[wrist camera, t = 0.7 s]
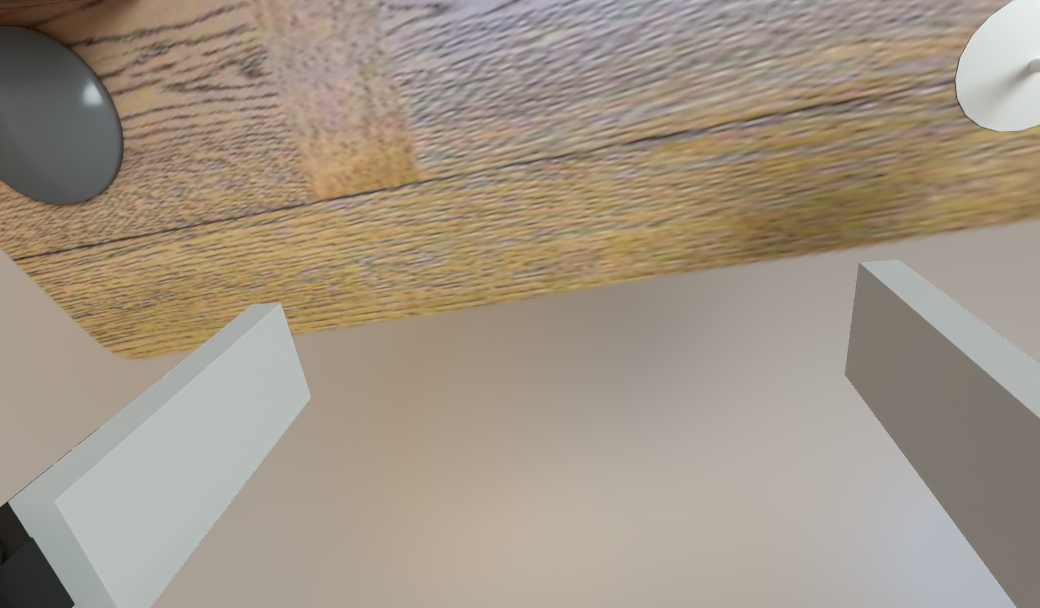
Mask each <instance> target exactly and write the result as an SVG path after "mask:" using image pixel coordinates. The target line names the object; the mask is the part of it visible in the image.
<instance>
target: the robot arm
mask: <svg viewBox="0 0 1040 608" xmlns="http://www.w3.org/2000/svg"><path fill="white" fill-rule="evenodd" d="M845 375H846V377H847V378H848V379H849V381H850V382H851V383H852V385H853V386H854V388H855V389H856V390H857V392H858V393H859V394H860V396H861V397H862V398H863V400H864V401H865V402H866V404H867V405H868V406H869V408H870V409H871V411H872V412H873V413H874V415H875V416H876V417H877V419H878V420H879V421H880V423H881V424H882V425H883V427H884V428H885V429H886V431H887V432H888V433H889V435H890V436H891V438H892V439H893V440H894V442H895V443H896V444H897V446H898V447H899V449H900V450H901V451H902V452H903V454H904V455H905V457H906V458H907V459H908V461H909V462H910V463H911V465H912V466H913V467H914V469H915V470H916V472H917V473H918V474H919V476H920V477H921V478H922V479H923V481H924V482H925V484H926V485H927V486H928V488H929V489H930V491H931V492H932V493H933V494H934V496H935V497H936V499H937V500H938V501H939V503H940V504H941V505H942V507H943V508H944V509H945V511H946V512H947V513H948V515H949V516H950V518H951V519H952V520H953V522H954V523H955V524H956V526H957V527H958V528H959V530H960V531H961V533H962V534H963V535H964V537H965V538H966V539H967V541H968V542H969V543H970V545H971V546H972V547H973V549H974V550H975V551H976V553H977V554H978V556H979V557H980V558H981V560H982V561H983V562H984V564H985V565H986V566H987V568H988V569H989V570H990V572H991V573H992V575H993V576H994V577H995V579H996V580H997V581H998V583H999V584H1000V585H1001V586H1002V588H1003V589H1004V591H1005V592H1006V593H1007V595H1008V596H1009V598H1010V599H1011V600H1012V602H1013V603H1014V604H1015V606H1016V607H1017V608H1040V364H1038V363H1037V362H1036V361H1034V360H1033V359H1032V358H1030V357H1029V356H1028V355H1026V354H1025V353H1024V352H1022V351H1021V350H1020V349H1018V348H1017V347H1016V346H1014V345H1013V344H1012V343H1010V342H1009V341H1008V340H1006V339H1005V338H1004V337H1002V336H1001V335H1000V334H998V333H997V332H995V331H994V330H993V329H991V328H990V327H989V326H987V325H986V324H985V323H983V322H982V321H980V320H979V319H978V318H976V317H975V316H974V315H973V314H971V313H970V312H969V311H967V310H966V309H965V308H963V307H962V306H961V305H959V304H958V303H957V302H955V301H954V300H953V299H951V298H950V297H948V296H947V295H946V294H944V293H943V292H942V291H940V290H939V289H938V288H936V287H935V286H934V285H932V284H931V283H930V282H928V281H927V280H926V279H924V278H923V277H921V276H920V275H919V274H917V273H916V272H915V271H914V270H912V269H911V268H910V267H908V266H907V265H905V264H904V263H903V262H901V261H900V260H885V261H870V262H859V268H858V275H857V283H856V292H855V299H854V307H853V315H852V323H851V331H850V339H849V346H848V354H847V362H846V370H845ZM310 398H311V396H310V393H309V390H308V386H307V384H306V380H305V378H304V374H303V371H302V368H301V365H300V362H299V359H298V355H297V352H296V349H295V346H294V343H293V340H292V337H291V334H290V330H289V327H288V324H287V321H286V318H285V315H284V312H283V309H282V306H281V303H268V304H254V305H251V306H249V307H248V308H247V309H246V310H244V311H243V312H242V313H241V314H240V315H238V316H237V317H236V318H235V319H233V320H232V321H231V322H230V323H228V324H227V325H226V326H225V327H223V328H222V329H221V330H220V331H219V332H217V333H216V334H215V335H214V336H212V337H211V338H210V339H209V340H207V341H206V342H205V343H204V344H202V345H201V346H200V347H199V348H197V349H196V350H195V351H194V352H193V353H191V354H190V355H189V356H188V357H186V358H185V359H184V360H183V361H181V362H180V363H179V364H178V365H176V366H175V367H174V368H173V369H171V370H170V371H169V372H168V373H167V374H165V375H164V376H163V377H162V378H160V379H159V380H158V381H157V382H156V383H154V384H153V385H152V386H151V387H150V388H148V389H147V390H146V391H144V392H143V393H142V394H141V395H139V396H138V397H137V398H136V399H134V400H133V401H132V402H131V403H130V404H128V405H127V406H126V407H124V408H123V409H122V410H121V411H120V412H118V413H117V414H116V415H115V416H113V417H112V418H111V419H110V420H108V421H107V422H106V423H105V424H103V425H102V426H101V427H99V428H98V429H97V430H95V431H94V432H93V433H92V434H90V435H89V436H88V437H87V438H86V439H84V440H83V441H82V442H81V443H79V444H78V445H77V446H76V447H75V448H74V449H73V450H71V451H69V452H68V453H67V454H66V455H64V456H63V457H62V458H61V459H59V460H58V461H57V462H56V463H55V464H54V465H52V466H51V467H50V468H48V469H47V470H46V471H45V472H43V473H42V474H41V475H40V476H38V477H37V478H36V479H35V480H34V481H32V482H31V483H30V484H29V485H27V486H26V487H25V488H24V489H22V490H21V491H20V492H19V493H17V494H16V495H15V496H14V497H13V498H11V499H10V500H9V501H8V502H6V503H5V504H4V505H2V506H1V507H0V608H72V607H73V606H74V607H75V608H151V606H152V605H153V604H154V602H155V601H156V600H157V599H158V597H159V596H160V595H161V593H162V592H163V591H164V589H165V588H166V587H167V585H168V584H169V583H170V582H171V580H172V579H173V578H174V576H175V575H176V574H177V572H178V571H179V570H180V568H181V567H182V566H183V564H184V563H185V562H186V561H187V559H188V558H189V557H190V555H191V554H192V553H193V551H194V550H195V549H196V547H197V546H198V544H200V542H201V541H202V540H203V538H204V537H205V536H206V534H207V533H208V532H209V530H210V529H211V528H212V526H213V525H214V524H215V523H216V521H217V520H218V519H219V517H220V516H221V515H222V513H223V512H224V511H225V509H226V508H227V507H228V506H229V504H230V503H231V502H232V500H233V499H234V498H235V496H236V495H237V494H238V492H239V491H240V489H241V488H242V487H243V486H244V485H245V483H246V482H247V481H248V479H249V478H250V477H251V475H252V474H253V473H254V471H255V470H256V469H257V468H258V466H259V465H260V463H261V462H262V461H263V460H264V458H265V457H266V456H267V454H268V453H269V452H270V450H271V449H272V448H273V447H274V445H275V444H276V443H277V441H278V440H279V439H280V437H281V436H282V435H283V433H284V432H285V431H286V429H287V428H288V427H289V425H290V424H291V423H292V422H293V420H294V419H295V418H296V416H297V415H298V413H299V412H300V411H301V410H302V408H303V407H304V406H305V405H306V403H307V402H308V401H309V399H310Z"/></svg>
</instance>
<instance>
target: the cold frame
mask: <svg viewBox="0 0 1040 608" xmlns="http://www.w3.org/2000/svg"><path fill="white" fill-rule="evenodd" d="M67 1H75V0H0V10H2V9H10V8H19V7H27V6H35V5H43V4H51V3H59V2H67Z"/></svg>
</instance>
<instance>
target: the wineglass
mask: <svg viewBox="0 0 1040 608" xmlns="http://www.w3.org/2000/svg"><path fill="white" fill-rule="evenodd" d="M955 81H956V90H957V99H958V101H959V103H960V105H961V107H962V109H963V110H964V112H965V114H966V116H968V117H969V118H970V119H972V120H973V121H974V122H975V123H977V124H978V125H979V126H981V127H984V128H988V129H992V130H995V131H999V132H1002V131H1021V130H1024V129H1027V128H1030V127H1033V126H1037V125H1040V0H1014V1H1012V2H1010V3H1009V4H1007V5H1006V6H1004V7H1003V8H1002V9H1000V10H999V11H997V12H996V13H994V14H993V15H991V16H990V17H989V18H988V19H987V20H986V21H985V22H984V23H983V25H982V26H981V27H980V28H979V29H978V30H977V31H976V32H975V33H974V34H973V36H972V37H971V39H970V41H969V43H968V44H967V46H966V48H965V50H964V52H963V54H962V55H961V57H960V61H959V66H958V70H957V74H956V79H955Z"/></svg>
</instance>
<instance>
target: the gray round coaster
mask: <svg viewBox="0 0 1040 608" xmlns="http://www.w3.org/2000/svg"><path fill="white" fill-rule="evenodd" d="M123 148H124V144H123V133H122V127H121V123H120V119H119V116H118V112H117V110H116V108H115V105H114V103H113V100H112V98H111V97H110V95H109V93H108V91H107V89H106V88H105V86H104V85H103V83H102V82H101V80H100V79H99V77H98V76H97V75H96V73H95V72H94V71H93V70H92V68H91V67H90V66H89V65H88V64H87V63H86V62H85V61H84V60H83V59H82V58H81V57H80V56H79V55H78V54H76V53H75V52H74V51H73V50H72V49H70V48H69V47H67V46H66V45H65V44H63V43H62V42H60V41H58V40H57V39H55V38H53V37H51V36H49V35H47V34H45V33H42V32H40V31H37V30H33V29H29V28H25V27H17V26H0V179H1V180H2V181H3V182H5V183H6V184H7V185H9V186H10V187H12V188H13V189H15V190H17V191H18V192H20V193H22V194H24V195H26V196H28V197H31V198H34V199H36V200H39V201H43V202H47V203H53V204H72V203H78V202H81V201H84V200H87V199H90V198H93V197H95V196H97V195H99V194H101V193H102V192H103V191H105V190H106V189H107V188H108V187H109V186H110V185H111V184H112V182H113V181H114V179H115V178H116V176H117V174H118V172H119V169H120V167H121V163H122V158H123Z"/></svg>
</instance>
